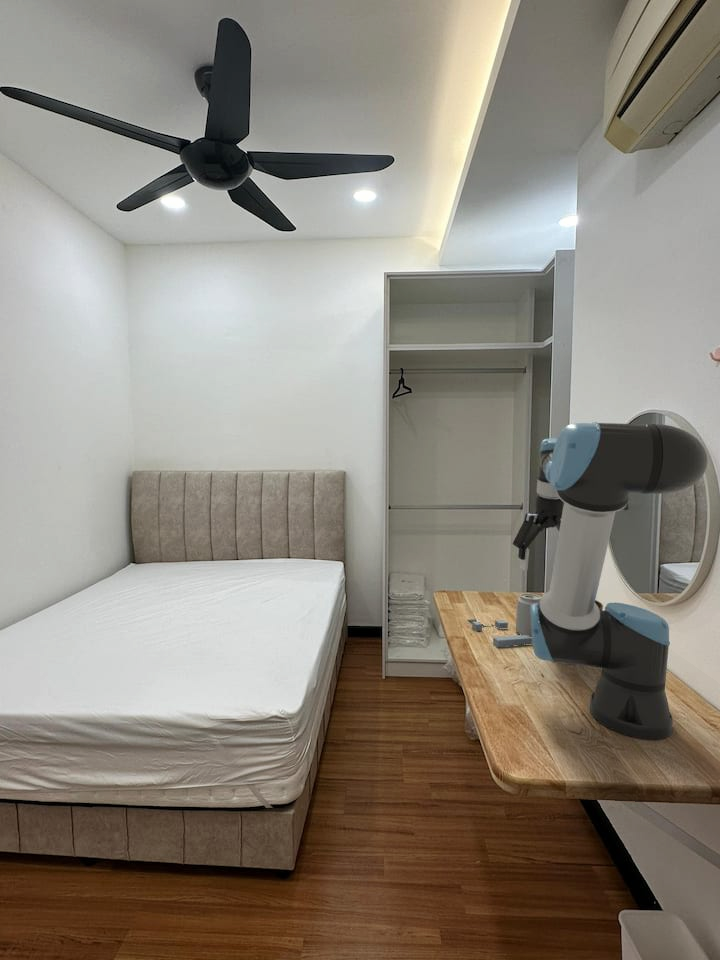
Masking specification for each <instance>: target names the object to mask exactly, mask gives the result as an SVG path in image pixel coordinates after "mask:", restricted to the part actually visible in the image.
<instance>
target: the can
mask: <svg viewBox="0 0 720 960" xmlns="http://www.w3.org/2000/svg"><path fill="white" fill-rule="evenodd" d="M541 597H542V596H540V595H538V594H536V593H535V594H534V593H528V592H527V593H525V592H524V593H520V594H519V597H518V598H517V601H516V619H515V631H516V632H517V633H519V634H521V635H528V636H530V637H532V629H531V613H530V607H531V605H532V604H535V603H539V604H540V600H541Z"/></svg>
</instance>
